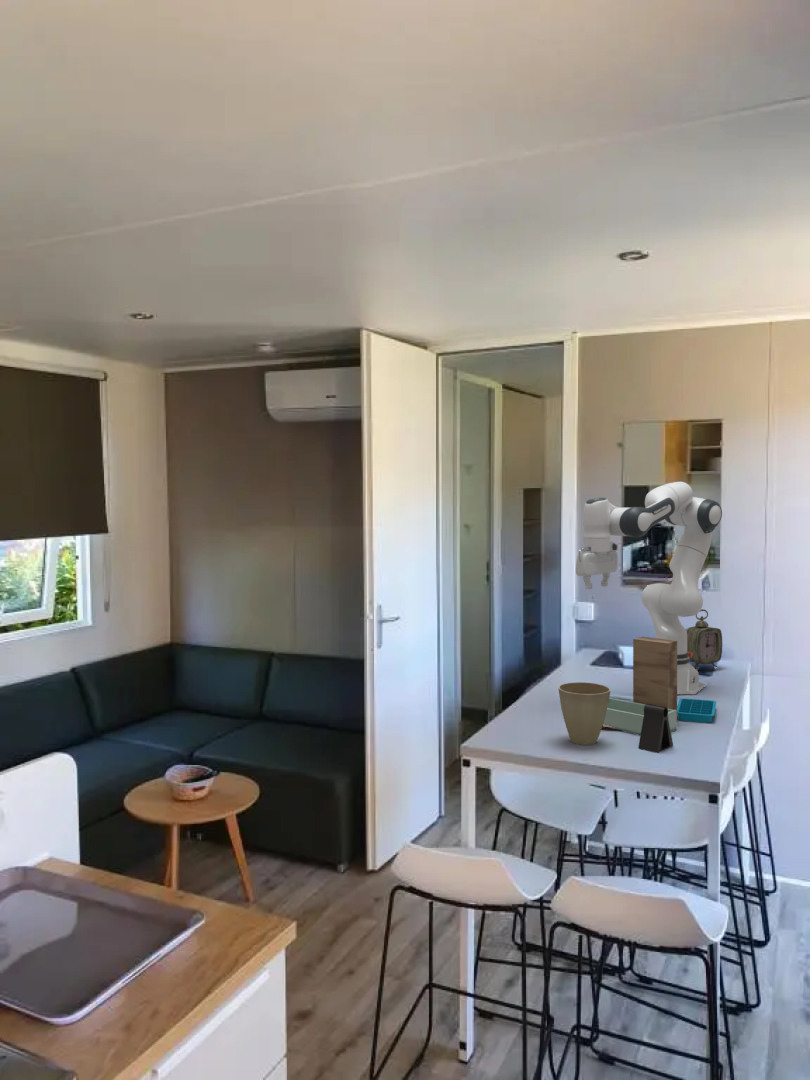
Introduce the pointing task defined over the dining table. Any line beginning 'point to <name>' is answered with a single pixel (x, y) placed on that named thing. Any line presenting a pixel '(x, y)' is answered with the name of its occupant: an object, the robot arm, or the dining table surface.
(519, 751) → the dining table surface
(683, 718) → the ice cube tray
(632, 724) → the green tray
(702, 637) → the tabletop clock
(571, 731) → the plant pot
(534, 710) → the dining table surface
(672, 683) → the walnut stand
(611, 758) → the dining table surface
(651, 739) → the phone stand
